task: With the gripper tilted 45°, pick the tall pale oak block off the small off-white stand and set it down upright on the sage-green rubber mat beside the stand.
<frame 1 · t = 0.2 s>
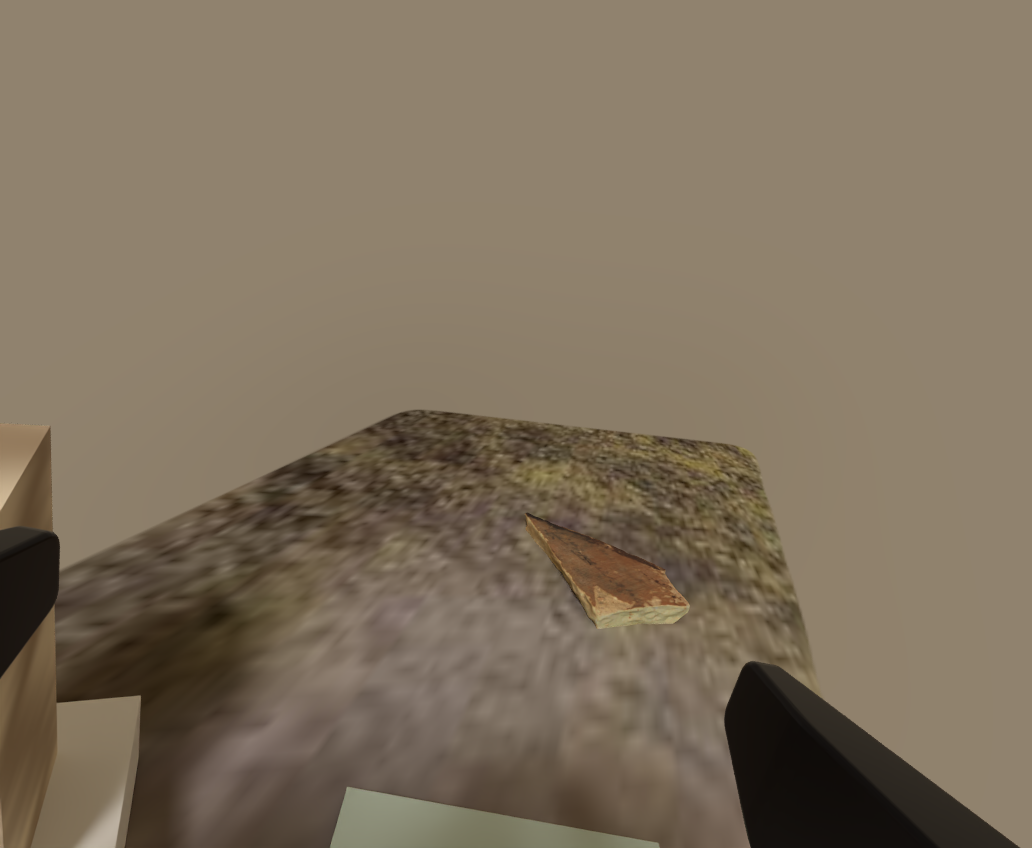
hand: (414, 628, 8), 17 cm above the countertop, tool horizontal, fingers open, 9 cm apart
shard: (586, 592, 41), on the countertop
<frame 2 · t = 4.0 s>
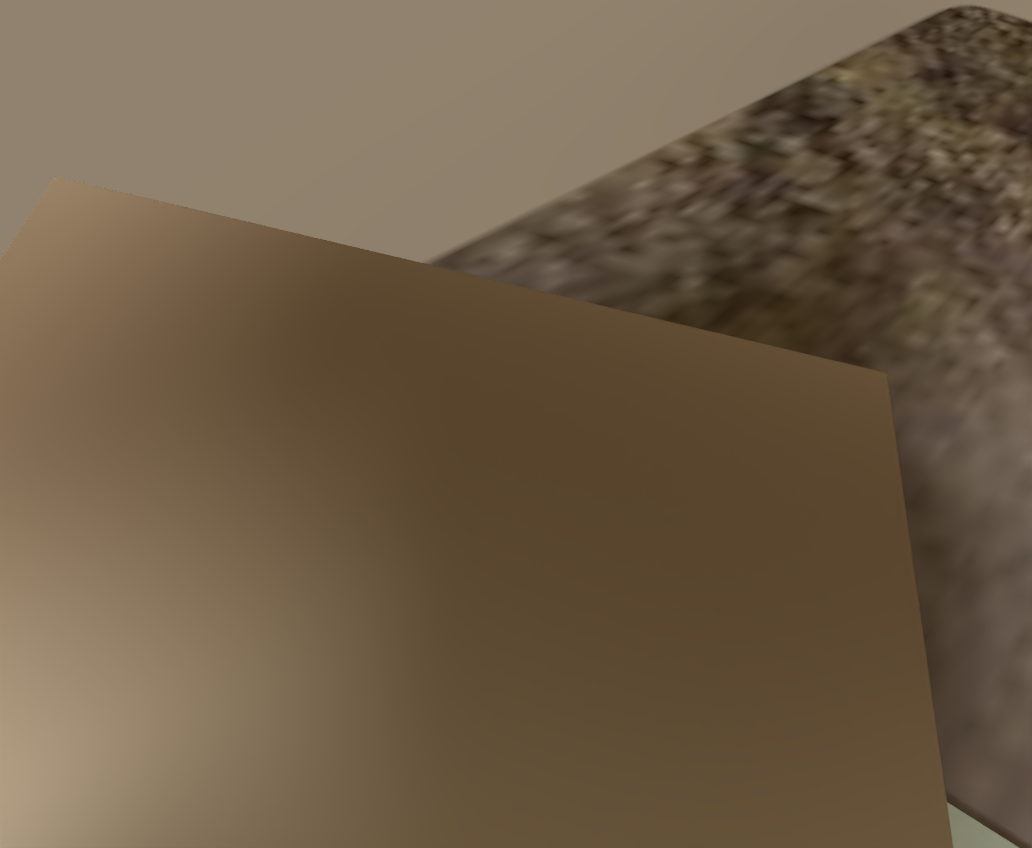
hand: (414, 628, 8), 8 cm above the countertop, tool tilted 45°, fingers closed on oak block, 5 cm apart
oak block: (386, 745, 12), point 3 cm above the countertop, touching gripper, stand
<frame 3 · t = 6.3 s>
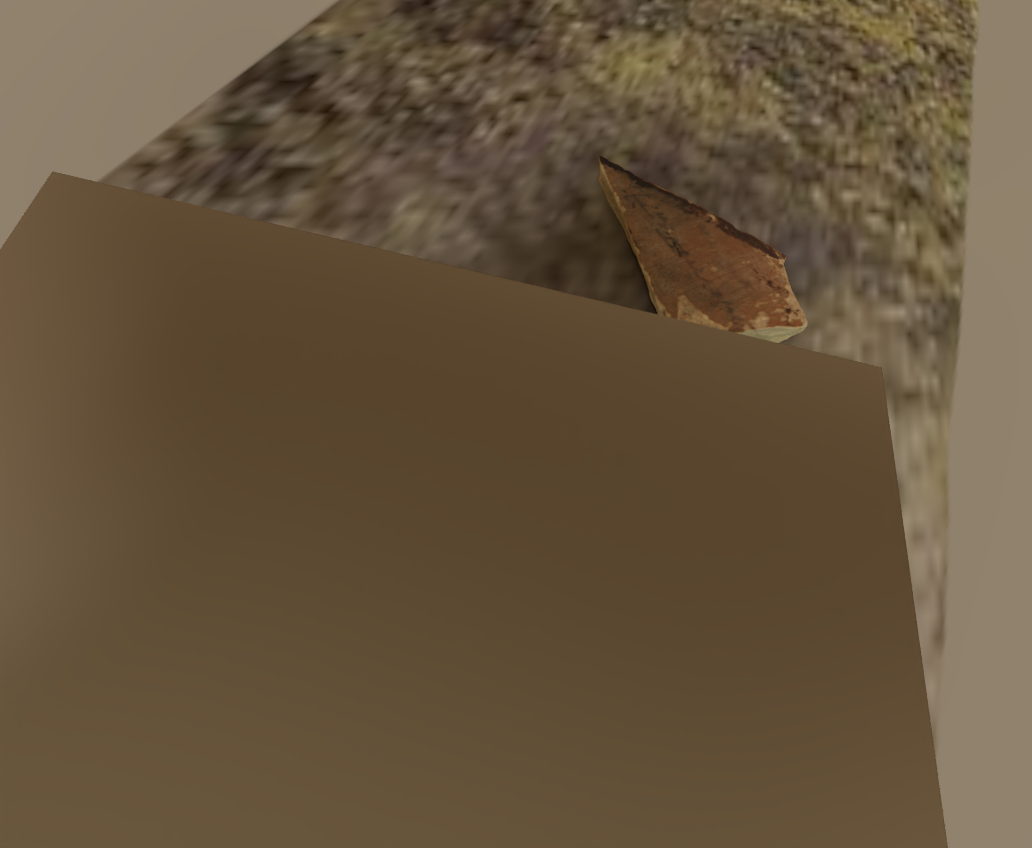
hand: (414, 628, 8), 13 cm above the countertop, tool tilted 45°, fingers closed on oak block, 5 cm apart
shard: (668, 288, 31), on the countertop
oak block: (385, 743, 12), point 8 cm above the countertop, touching gripper
when the fingers open (7 cm above the countertop, at t = 8.8 s): oak block drops 1 cm, resting on mat.
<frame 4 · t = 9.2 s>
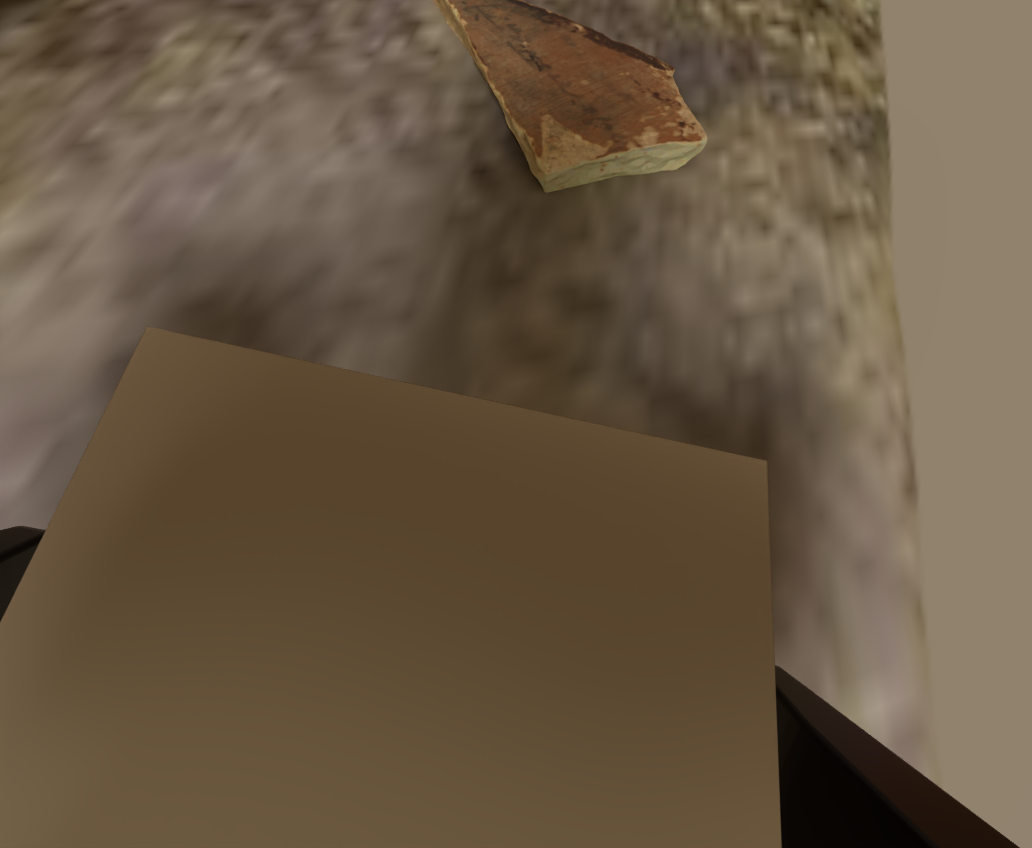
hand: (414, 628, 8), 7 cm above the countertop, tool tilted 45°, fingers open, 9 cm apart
shard: (535, 122, 24), on the countertop
oak block: (387, 743, 14), resting on mat
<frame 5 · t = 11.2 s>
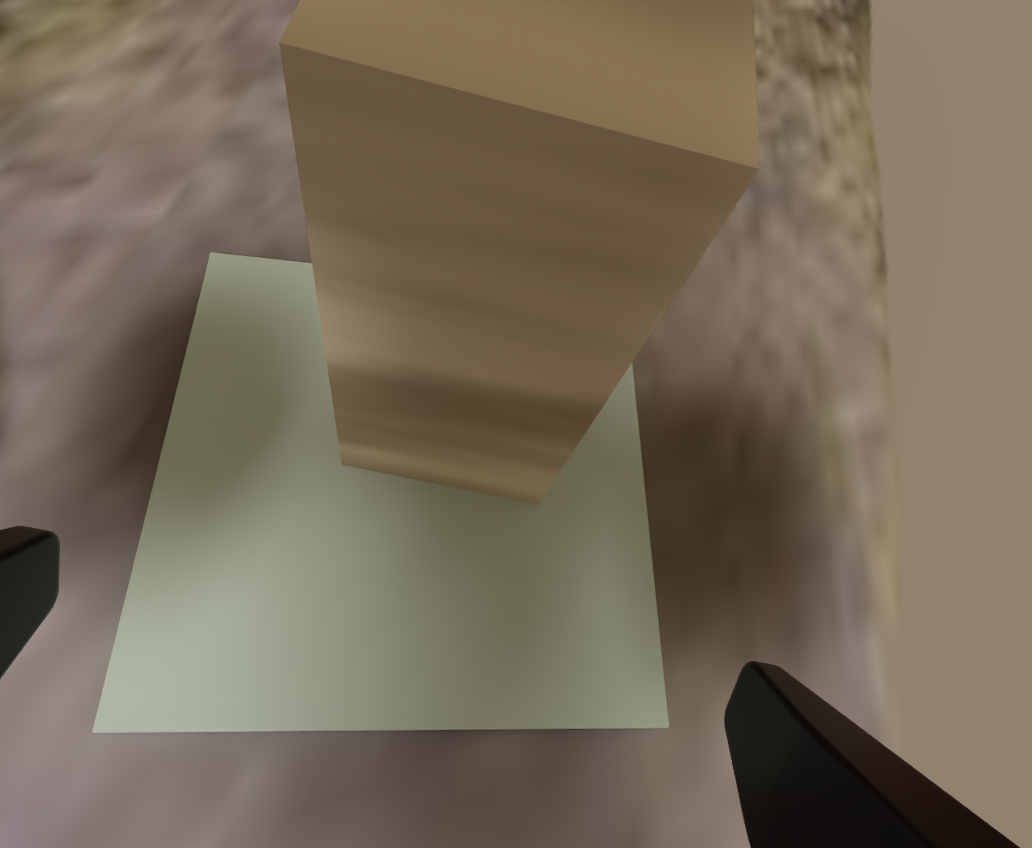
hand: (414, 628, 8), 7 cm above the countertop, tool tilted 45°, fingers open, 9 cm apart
mat: (416, 471, 17), on the countertop
oak block: (459, 398, 17), resting on mat
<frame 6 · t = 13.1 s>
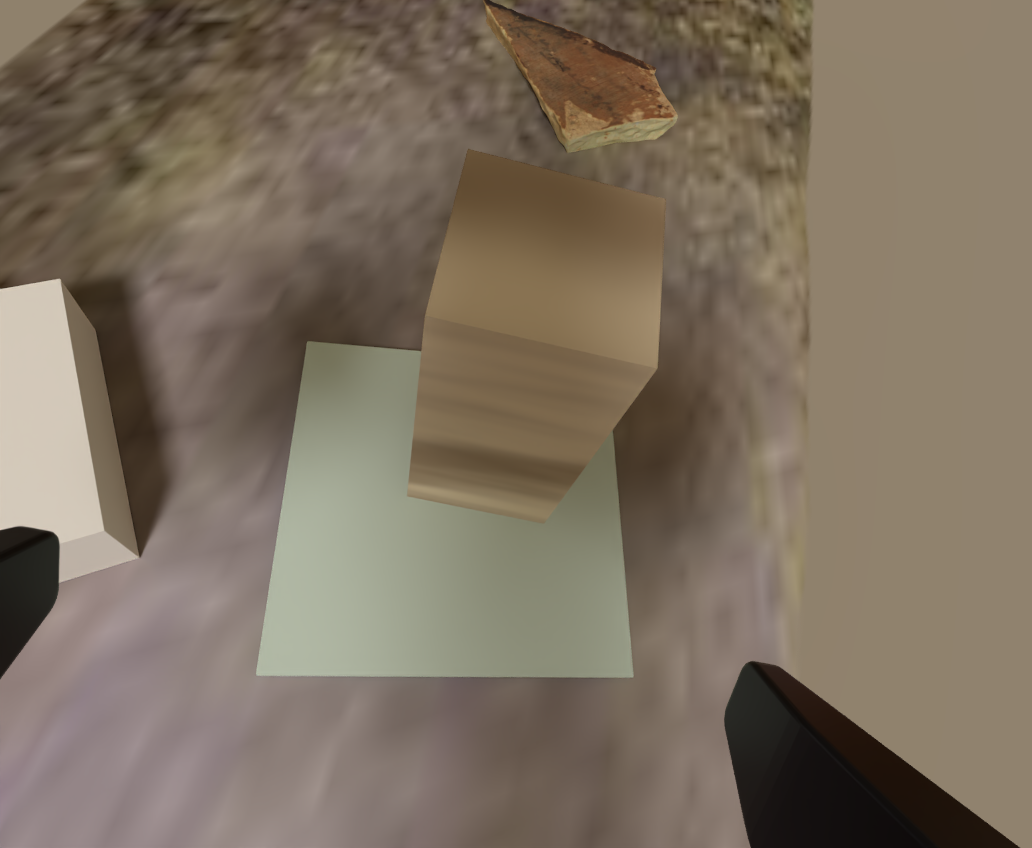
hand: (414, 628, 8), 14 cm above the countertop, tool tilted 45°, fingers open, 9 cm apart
mat: (458, 500, 24), on the countertop
shard: (559, 106, 35), on the countertop
oak block: (487, 447, 24), resting on mat
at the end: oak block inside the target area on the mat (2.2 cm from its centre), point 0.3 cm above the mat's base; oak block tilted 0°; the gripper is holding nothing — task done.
